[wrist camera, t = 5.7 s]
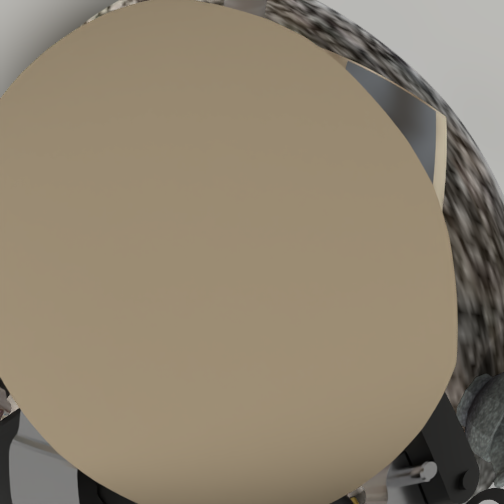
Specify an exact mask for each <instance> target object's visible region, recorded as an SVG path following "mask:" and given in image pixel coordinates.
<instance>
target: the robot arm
mask: <svg viewBox="0 0 504 504" xmlns="http://www.w3.org/2000/svg"><path fill="white" fill-rule="evenodd" d="M9 395H10V393H9V391H8V389H7V388H6V386H5V384H4V383H3V381H2V379H1V378H0V420H1V417H2V415H5V416H7V415H8V416H7V417H5V418H4V419H3V420H1V421H0V504H138V503H135V502H133V501H131V500H129V499H127V498H125V497H123V496H121V495H119V494H117V493H115V492H114V491H112V490H110V489H108V488H106V487H105V486H103V485H101V484H99V483H98V482H96V481H94V480H93V479H91V478H90V477H89V476H87V475H86V474H84V473H83V472H82V471H80V470H79V469H78V468H76V467H75V466H74V465H72V464H71V463H70V462H68V461H67V460H66V459H65V458H64V457H62V456H61V455H60V454H59V453H58V452H57V451H56V450H55V449H54V448H53V447H52V446H51V445H50V444H49V443H48V442H47V441H46V440H45V439H44V438H43V437H42V435H41V434H40V433H39V432H38V431H37V430H36V429H35V427H34V426H33V425H32V424H31V423H30V421H29V420H28V419H27V418H26V416H25V415H24V413H23V412H22V411H21V409H20V408H19V409H17V410H16V411H14V412H13V413H11V414H10V412H11V404H10V402H9V401H8V400H7V397H8V396H9ZM9 414H10V415H9ZM478 481H479V468H478V464H477V462H476V459H475V457H474V454H473V452H472V449H471V447H470V444H469V442H468V440H467V437H466V435H465V433H464V431H463V428H462V426H461V424H460V422H459V420H458V417H457V415H456V413H455V411H454V409H453V407H452V405H451V403H450V401H449V399H448V397H447V395H446V393H445V391H444V394H443V396H442V398H441V399H440V401H439V403H438V405H437V406H436V408H435V410H434V411H433V413H432V415H431V416H430V418H429V419H428V421H427V422H426V424H425V426H424V427H423V429H422V430H421V431H420V432H419V433H418V434H417V436H416V437H415V438H414V439H413V440H412V441H411V442H410V444H409V445H408V446H407V447H406V448H405V449H404V450H403V451H402V452H401V453H400V454H399V455H398V456H397V457H396V458H395V459H394V460H393V461H392V462H391V463H390V464H389V465H387V466H386V467H385V468H384V469H383V470H381V471H380V472H379V473H378V474H376V475H375V476H374V477H372V478H371V479H370V480H368V481H367V482H366V483H364V484H363V485H362V488H363V489H364V490H365V494H366V500H365V504H462V503H464V502H466V501H467V500H468V499H469V498H470V497H471V496H472V495H473V493H474V492H475V490H476V487H477V485H478ZM330 504H354V503H353V501H352V500H351V499H350V498H349V497H348V496H347V495H345V496H343V497H342V498H340V499H338V500H336V501H334V502H332V503H330Z"/></svg>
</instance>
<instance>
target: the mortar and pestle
mask: <svg viewBox="0 0 504 504" xmlns="http://www.w3.org/2000/svg"><path fill="white" fill-rule="evenodd" d="M456 415H457V417H458V420H459V422H460V424H461V425H462V426H464V427H465V435H466V437H467V440H468V442H469V444H470V447H471V449H472V451H473V452H474V453H475V454H477V455H478V456H480V457H481V458H483V459H484V460H486V461H487V462H489V463H490V462H491V463H492V466H493V469H494V472H495V476H496V478H495V481H494V485H495V487H497V488H500V487H503V486H504V372H503V373H501V374H499V375H496V376H494V377H493V378H492V377H491V376H490V375H488V374H483V375H481V376H478V377H476V379H475V380H474V381H473V382H472V383H471V385H470V386H469V387H468V388H467V389H466V391H465V393H464V395H463V397H462V399H461V401H460V403H459V405H458V407H457V414H456Z"/></svg>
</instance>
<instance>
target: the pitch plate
mask: <svg viewBox="0 0 504 504" xmlns="http://www.w3.org/2000/svg"><path fill="white" fill-rule="evenodd" d="M266 3H267V0H224V6H225V7H229V8H233V9H236V10H240V11H243V12H247V13H250V14H253V15H257V16H260V17H263V18H264V16H265V9H266ZM319 48H321V47H319ZM321 49H322V50H323V51H325V52H326V53H327V54H328V55H330V56H331V57H332V58H334V59H335V60H336V61H337V62H338V63H340V64H341V65H342V66H343V67H344V68H345V69H346V70H347V71H348V72H349V73H350V74H351V75H352V76H353V77H354V78H355V79H356V80H357V81H358V82H359V83H360V84H361V85H362V86H363V87H364V88H365V90H366V91H367V92H368V93H369V94H370V95H371V96H372V97H373V98H374V100H375V101H376V102H377V103H378V104H379V105H380V106H381V108H382V109H383V110H384V111H385V112H386V114H387V115H388V116H389V117H390V118H391V120H392V121H393V122H394V123H395V125H396V126H397V127H398V129H399V130H400V131H401V133H402V134H403V135H404V137H405V138H406V139H407V141H408V142H409V144H410V145H411V147H412V149H413V150H414V152H415V154H416V155H417V157H418V159H419V160H420V162H421V164H422V166H423V167H424V169H425V171H426V173H427V175H428V176H429V178H430V180H431V182H432V184H433V186H434V189H435V192H436V195H437V197H438V200H439V203H440V207H441V210H442V209H443V200H444V190H445V177H446V156H447V125H446V117H445V116H444V115H443V114H441V113H440V112H439V111H437V110H436V109H435V108H433V107H432V106H430V105H429V104H427V103H426V102H424V101H423V100H421V99H420V98H418V97H417V96H415V95H414V94H412V93H411V92H409V91H407V90H406V89H404V88H403V87H401V86H399V85H398V84H396V83H394V82H392V81H391V80H389V79H387V78H385V77H383V76H382V75H380V74H378V73H376V72H374V71H372V70H370V69H368V68H366V67H364V66H362V65H360V64H358V63H356V62H354V61H352V60H349V59H347V58H345V57H343V56H340V55H338V54H336V53H333V52H331V51H328V50H326V49H323V48H321Z"/></svg>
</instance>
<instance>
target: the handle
mask: <svg viewBox="0 0 504 504" xmlns="http://www.w3.org/2000/svg"><path fill="white" fill-rule="evenodd" d="M457 333H458V319H457V293H456V282H455V273H454V265H453V257H452V251H451V245H450V239H449V234H448V230H447V227H446V223H445V220H444V216H443V213H442V210H441V207H440V203H439V200H438V197H437V195H436V192H435V189H434V186H433V184H432V182H431V180H430V178H429V176H428V175H427V173H426V171H425V169H424V167H423V166H422V164H421V162H420V160H419V159H418V157H417V155H416V154H415V152H414V150H413V149H412V147H411V145H410V144H409V142H408V141H407V139H406V138H405V137H404V135H403V134H402V133H401V131H400V130H399V129H398V127H397V126H396V125H395V123H394V122H393V121H392V120H391V118H390V117H389V116H388V115H387V114H386V112H385V111H384V110H383V109H382V108H381V106H380V105H379V104H378V103H377V102H376V101H375V100H374V98H373V97H372V96H371V95H370V94H369V93H368V92H367V91H366V90H365V88H364V87H363V86H362V85H361V84H360V83H359V82H358V81H357V80H356V79H355V78H354V77H353V76H352V75H351V74H350V73H349V72H348V71H347V70H346V69H345V68H344V67H343V66H342V65H341V64H340V63H338V62H337V61H336V60H335V59H334V58H332V57H331V56H330V55H328V54H327V53H326V52H325V51H323V50H322V49H321V48H319V47H318V46H317V45H315V44H314V43H313V42H311V41H310V40H308V39H307V38H306V37H304V36H302V35H300V34H298V33H296V32H294V31H292V30H290V29H288V28H286V27H284V26H282V25H279V24H277V23H275V22H273V21H270V20H268V19H266V18H263V17H260V16H257V15H253V14H250V13H247V12H243V11H240V10H236V9H233V8H229V7H225V6H221V5H216V4H211V3H206V2H200V1H194V0H149V1H144V2H140V3H136V4H133V5H129V6H126V7H123V8H120V9H117V10H114V11H111V12H109V13H107V14H105V15H102V16H100V17H98V18H96V19H94V20H92V21H90V22H88V23H86V24H85V25H83V26H81V27H79V28H77V29H76V30H74V31H73V32H71V33H70V34H68V35H67V36H65V37H64V38H62V39H61V40H59V41H58V42H57V43H55V44H54V45H53V46H51V47H50V48H48V49H47V50H46V51H45V52H44V53H43V54H41V55H40V56H39V57H38V58H37V59H36V60H35V61H34V62H33V63H32V64H30V66H28V67H27V68H26V69H25V70H24V71H23V72H22V73H21V74H20V75H19V76H18V77H17V79H16V80H15V81H14V82H13V83H12V84H11V86H10V87H9V88H8V89H7V91H6V92H5V93H4V94H3V96H2V97H1V98H0V378H1V379H2V381H3V383H4V384H5V386H6V388H7V389H8V391H9V393H10V394H11V396H12V397H13V399H14V400H15V402H16V403H17V405H18V406H19V408H20V409H21V411H22V412H23V413H24V415H25V416H26V418H27V419H28V420H29V421H30V423H31V424H32V425H33V426H34V427H35V429H36V430H37V431H38V432H39V433H40V434H41V435H42V437H43V438H44V439H45V440H46V441H47V442H48V443H49V444H50V445H51V446H52V447H53V448H54V449H55V450H56V451H57V452H58V453H59V454H60V455H61V456H62V457H64V458H65V459H66V460H67V461H68V462H70V463H71V464H72V465H74V466H75V467H76V468H78V469H79V470H80V471H82V472H83V473H84V474H86V475H87V476H89V477H90V478H91V479H93V480H94V481H96V482H98V483H99V484H101V485H103V486H105V487H106V488H108V489H110V490H112V491H114V492H115V493H117V494H119V495H121V496H123V497H125V498H127V499H129V500H131V501H133V502H135V503H138V504H330V503H332V502H334V501H336V500H338V499H340V498H342V497H343V496H345V495H347V494H349V493H350V492H352V491H354V490H356V489H357V488H359V487H360V486H361V485H363V484H364V483H366V482H367V481H368V480H370V479H371V478H372V477H374V476H375V475H376V474H378V473H379V472H380V471H381V470H383V469H384V468H385V467H386V466H387V465H389V464H390V463H391V462H392V461H393V460H394V459H395V458H396V457H397V456H398V455H399V454H400V453H401V452H402V451H403V450H404V449H405V448H406V447H407V446H408V445H409V444H410V442H411V441H412V440H413V439H414V438H415V437H416V436H417V434H418V433H419V432H420V431H421V430H422V429H423V427H424V426H425V424H426V422H427V421H428V419H429V418H430V416H431V415H432V413H433V411H434V410H435V408H436V406H437V405H438V403H439V401H440V399H441V398H442V396H443V394H444V391H445V389H446V387H447V385H448V383H449V380H450V378H451V375H452V373H453V371H454V368H455V366H456V359H457Z"/></svg>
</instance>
